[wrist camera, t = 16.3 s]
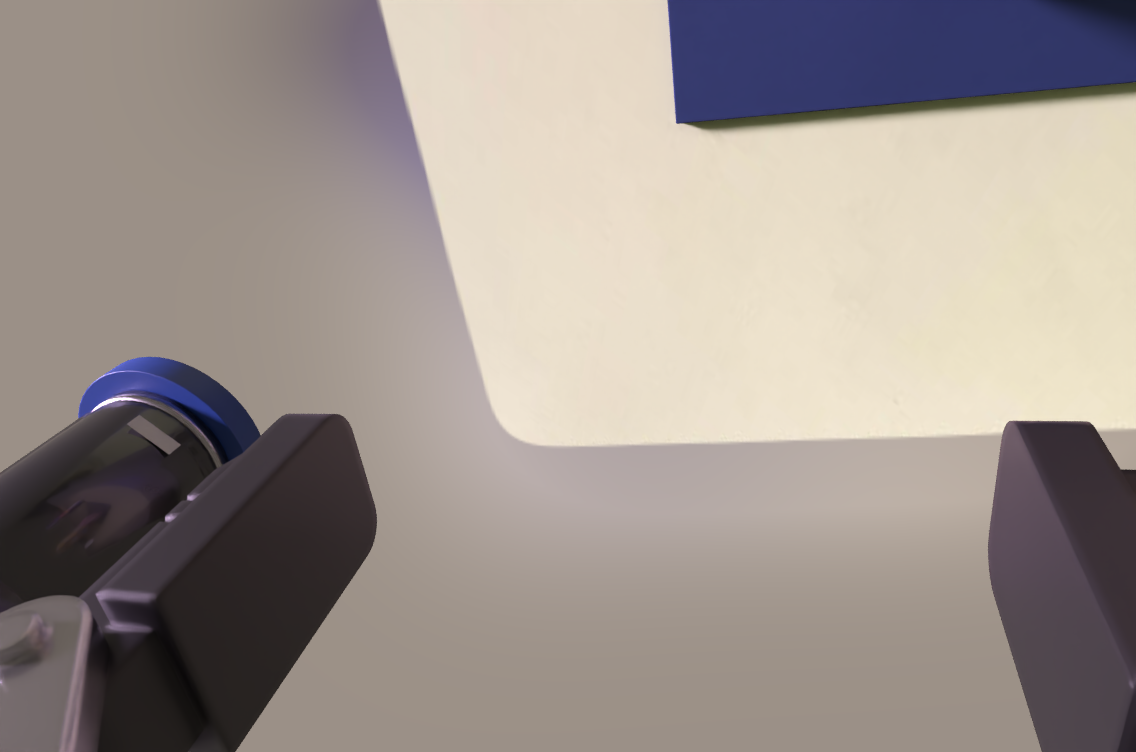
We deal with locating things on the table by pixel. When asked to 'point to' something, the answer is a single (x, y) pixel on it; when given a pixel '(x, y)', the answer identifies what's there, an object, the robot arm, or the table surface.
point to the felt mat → (888, 52)
